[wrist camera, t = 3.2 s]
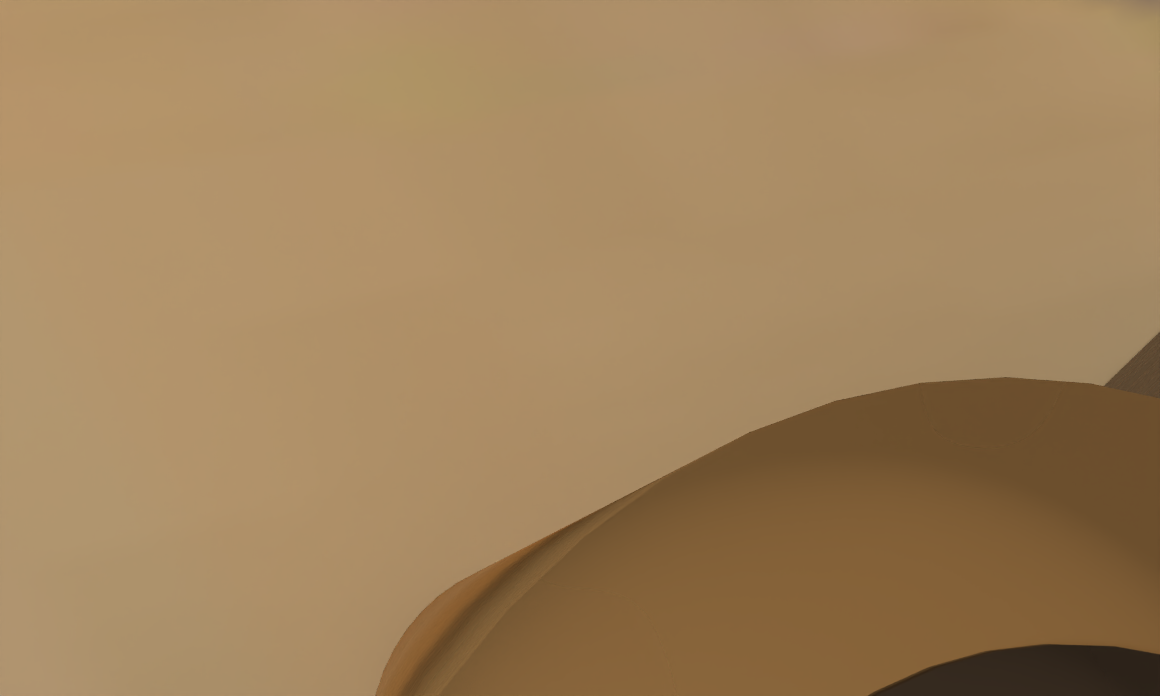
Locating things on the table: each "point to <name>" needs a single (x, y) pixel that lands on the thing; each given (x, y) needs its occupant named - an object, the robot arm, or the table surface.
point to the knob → (842, 562)
